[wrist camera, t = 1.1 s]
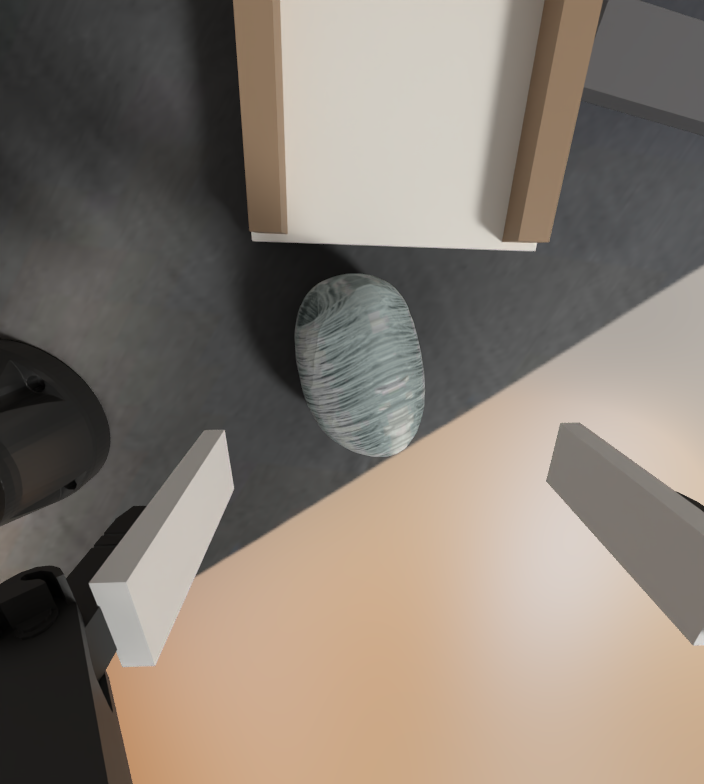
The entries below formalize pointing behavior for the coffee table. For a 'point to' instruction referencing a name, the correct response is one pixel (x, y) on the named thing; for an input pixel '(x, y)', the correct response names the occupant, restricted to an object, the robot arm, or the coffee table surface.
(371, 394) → the grey streaked oval piece
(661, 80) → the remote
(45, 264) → the coffee table surface
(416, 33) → the shelf bay
